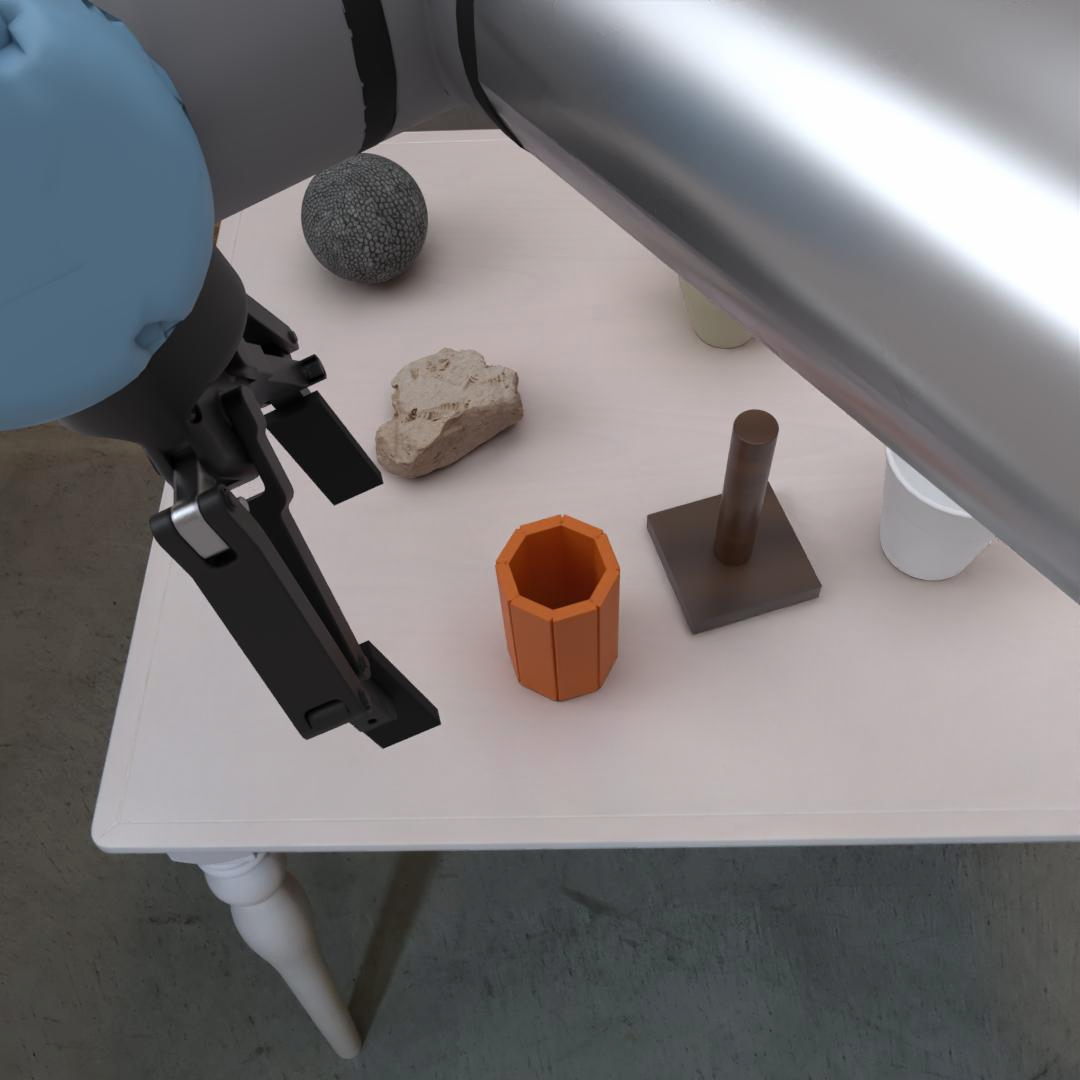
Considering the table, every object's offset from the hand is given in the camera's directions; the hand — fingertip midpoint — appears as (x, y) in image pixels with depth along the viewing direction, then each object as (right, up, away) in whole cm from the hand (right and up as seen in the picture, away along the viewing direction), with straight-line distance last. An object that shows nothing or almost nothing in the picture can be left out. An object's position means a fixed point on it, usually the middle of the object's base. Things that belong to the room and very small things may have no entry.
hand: (382, 600), depth 51 cm
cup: (+34, +2, +26) cm, 43 cm away
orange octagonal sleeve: (+9, -5, +23) cm, 25 cm away
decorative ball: (-7, +25, +43) cm, 50 cm away
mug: (+21, +20, +38) cm, 48 cm away
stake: (+20, +1, +26) cm, 33 cm away
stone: (+1, +11, +33) cm, 35 cm away
